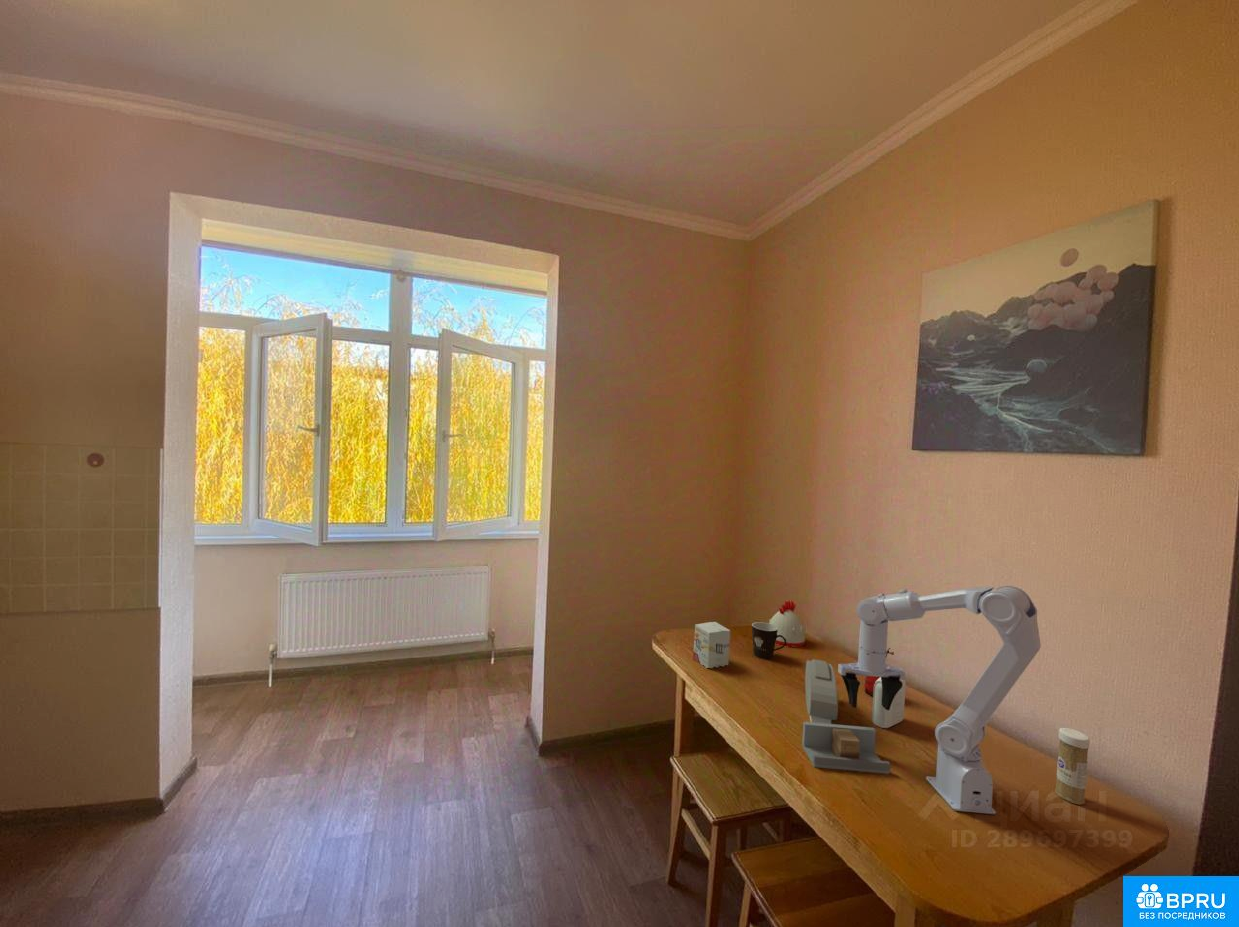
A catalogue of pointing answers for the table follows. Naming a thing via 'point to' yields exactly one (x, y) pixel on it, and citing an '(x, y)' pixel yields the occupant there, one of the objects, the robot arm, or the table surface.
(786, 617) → the white and red dome
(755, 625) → the coffee mug
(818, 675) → the alarm clock
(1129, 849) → the table surface
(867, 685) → the red fruit
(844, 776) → the table surface
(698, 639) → the ink box
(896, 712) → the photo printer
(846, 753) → the cabinet block
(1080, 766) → the sprinkles bottle
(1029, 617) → the robot arm
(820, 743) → the wall shelf
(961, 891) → the table surface
